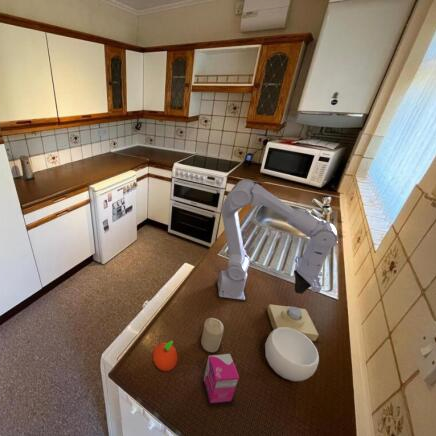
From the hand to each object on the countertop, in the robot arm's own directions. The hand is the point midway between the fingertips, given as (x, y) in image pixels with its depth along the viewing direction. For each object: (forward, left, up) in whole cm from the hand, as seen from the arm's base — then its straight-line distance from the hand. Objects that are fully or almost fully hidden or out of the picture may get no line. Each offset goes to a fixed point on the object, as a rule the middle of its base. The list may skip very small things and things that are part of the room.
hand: (298, 291), depth 79 cm
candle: (-28, -17, -11) cm, 35 cm away
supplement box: (-27, -30, -11) cm, 42 cm away
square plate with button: (-1, -5, -10) cm, 12 cm away
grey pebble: (-2, -5, -6) cm, 8 cm away
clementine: (-41, -25, -11) cm, 50 cm away
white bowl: (-8, -20, -11) cm, 24 cm away
